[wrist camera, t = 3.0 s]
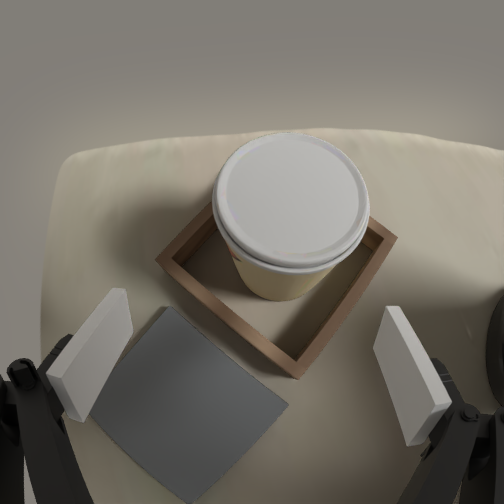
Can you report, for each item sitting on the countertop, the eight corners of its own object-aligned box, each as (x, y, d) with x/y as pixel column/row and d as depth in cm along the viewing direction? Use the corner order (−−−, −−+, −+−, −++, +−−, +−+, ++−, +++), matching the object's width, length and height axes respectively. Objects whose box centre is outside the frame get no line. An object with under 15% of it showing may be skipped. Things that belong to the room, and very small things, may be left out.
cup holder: (385, 249, 28) (397, 237, 26) (293, 378, 24) (298, 380, 22) (266, 165, 32) (267, 147, 29) (164, 270, 28) (154, 259, 25)
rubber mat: (287, 403, 24) (288, 404, 23) (191, 501, 20) (189, 505, 19) (172, 307, 27) (169, 305, 26) (87, 405, 23) (82, 406, 22)
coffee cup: (243, 205, 30) (236, 117, 19) (336, 227, 29) (376, 148, 18) (215, 296, 27) (187, 244, 16) (319, 321, 26) (365, 286, 15)
